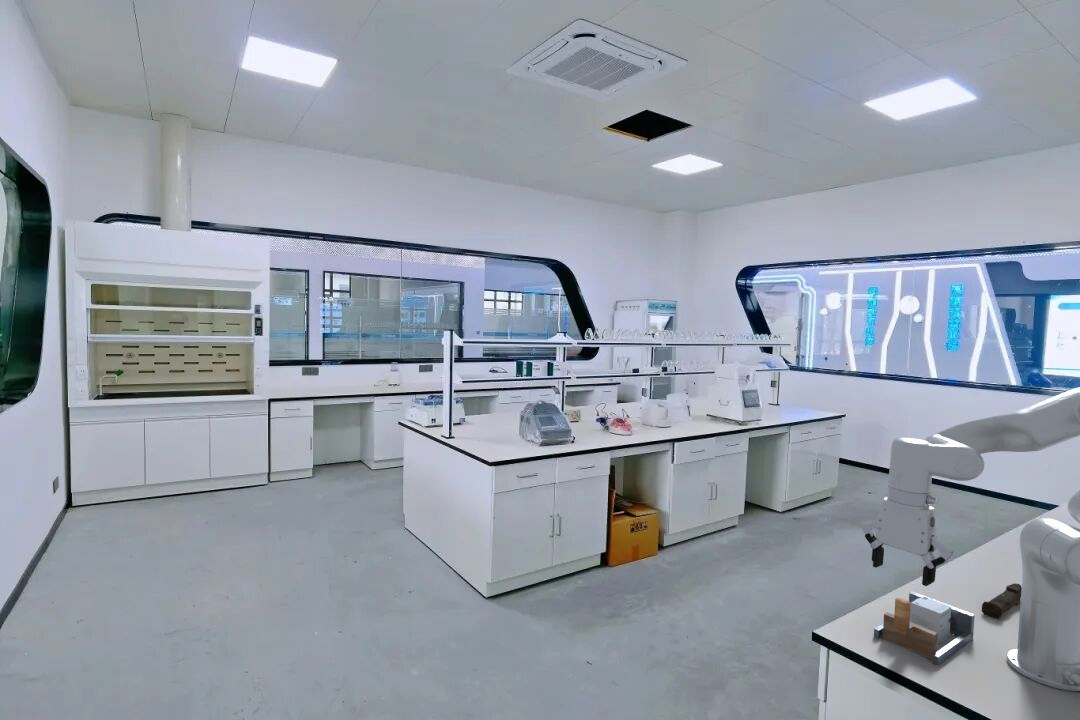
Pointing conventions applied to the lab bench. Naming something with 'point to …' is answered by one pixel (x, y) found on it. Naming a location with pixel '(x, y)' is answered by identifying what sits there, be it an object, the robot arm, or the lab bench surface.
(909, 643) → the sliding jaw
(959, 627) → the clamp frame
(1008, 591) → the hand tool
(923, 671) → the lab bench surface
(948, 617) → the skincare box
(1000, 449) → the robot arm
